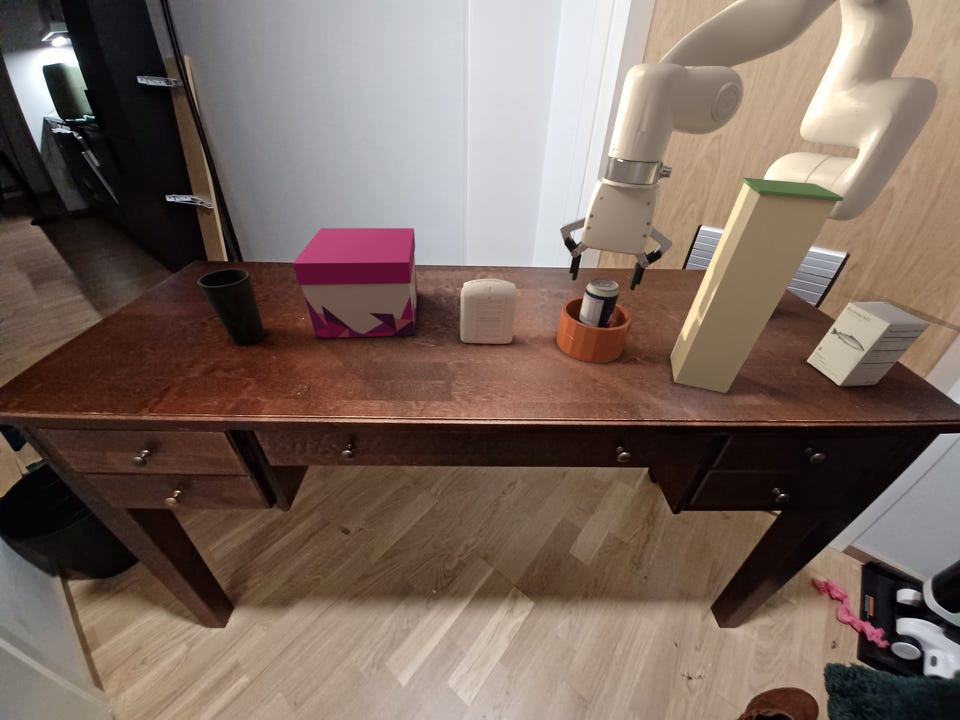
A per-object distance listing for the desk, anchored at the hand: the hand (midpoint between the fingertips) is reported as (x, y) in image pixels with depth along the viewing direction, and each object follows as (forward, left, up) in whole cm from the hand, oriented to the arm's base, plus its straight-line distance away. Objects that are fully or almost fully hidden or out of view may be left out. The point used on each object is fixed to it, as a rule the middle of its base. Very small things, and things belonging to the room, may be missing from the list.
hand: (602, 282), depth 63 cm
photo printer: (+19, -6, -13) cm, 24 cm away
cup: (+63, -17, -13) cm, 66 cm away
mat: (-14, +13, +17) cm, 26 cm away
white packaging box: (-40, +19, -13) cm, 46 cm away
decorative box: (+40, -21, -13) cm, 47 cm away
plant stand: (-14, +13, -13) cm, 23 cm away
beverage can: (0, 0, -13) cm, 13 cm away
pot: (0, 0, -13) cm, 13 cm away
